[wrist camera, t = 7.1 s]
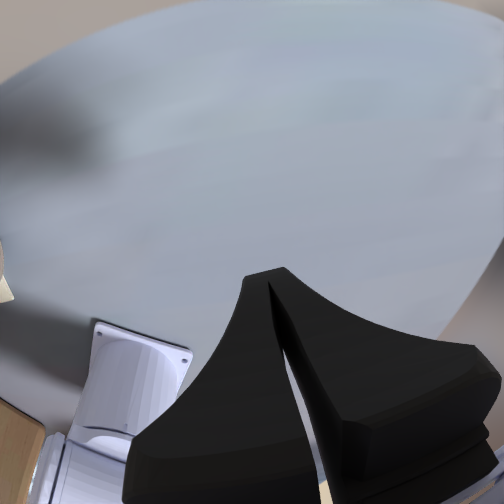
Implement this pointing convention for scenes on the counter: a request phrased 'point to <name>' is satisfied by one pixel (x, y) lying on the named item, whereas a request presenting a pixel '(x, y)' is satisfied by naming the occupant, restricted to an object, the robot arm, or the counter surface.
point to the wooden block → (17, 453)
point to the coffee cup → (1, 261)
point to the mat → (5, 291)
